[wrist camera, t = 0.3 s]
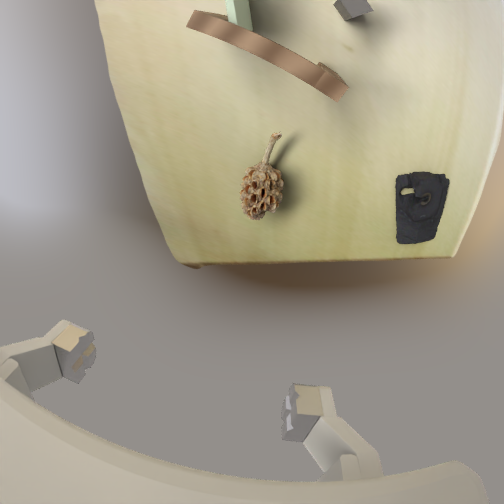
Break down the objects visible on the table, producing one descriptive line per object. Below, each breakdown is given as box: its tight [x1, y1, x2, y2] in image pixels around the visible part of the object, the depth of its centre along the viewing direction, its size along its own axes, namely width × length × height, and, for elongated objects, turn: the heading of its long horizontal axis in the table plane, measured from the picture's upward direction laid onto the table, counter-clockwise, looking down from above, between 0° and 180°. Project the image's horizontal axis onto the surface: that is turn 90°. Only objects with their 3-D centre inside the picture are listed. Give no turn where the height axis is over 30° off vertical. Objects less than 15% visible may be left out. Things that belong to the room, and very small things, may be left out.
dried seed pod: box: [240, 132, 284, 220], centre depth 58 cm, size 22×10×10 cm, turn 174°
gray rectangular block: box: [333, 0, 373, 21], centre depth 29 cm, size 4×4×9 cm
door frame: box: [186, 10, 349, 102], centre depth 36 cm, size 25×3×16 cm, turn 62°
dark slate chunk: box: [395, 172, 449, 244], centre depth 59 cm, size 15×22×5 cm
